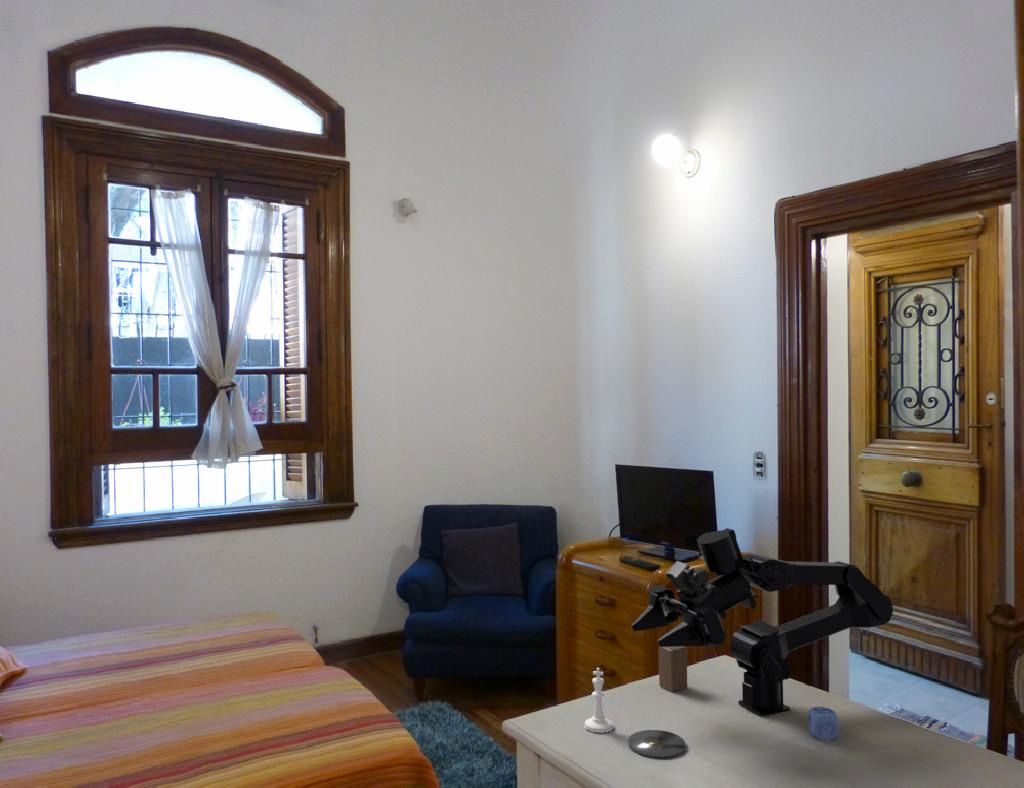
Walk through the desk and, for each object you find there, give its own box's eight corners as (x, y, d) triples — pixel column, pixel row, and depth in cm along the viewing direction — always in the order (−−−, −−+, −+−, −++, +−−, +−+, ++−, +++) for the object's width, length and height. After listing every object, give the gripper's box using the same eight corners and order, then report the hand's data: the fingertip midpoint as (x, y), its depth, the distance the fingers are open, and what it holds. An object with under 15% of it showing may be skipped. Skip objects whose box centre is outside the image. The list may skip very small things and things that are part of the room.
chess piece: (612, 734, 127) (611, 674, 127) (582, 732, 128) (581, 672, 128) (614, 722, 132) (613, 664, 132) (585, 720, 132) (585, 662, 133)
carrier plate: (664, 729, 128) (664, 726, 128) (697, 751, 120) (696, 748, 120) (618, 739, 125) (617, 735, 125) (648, 762, 116) (648, 758, 116)
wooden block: (672, 693, 145) (671, 650, 145) (658, 686, 148) (657, 645, 148) (688, 688, 147) (687, 647, 147) (674, 682, 150) (673, 641, 150)
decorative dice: (808, 729, 128) (807, 705, 128) (833, 731, 127) (832, 707, 127) (812, 740, 124) (812, 715, 124) (839, 741, 123) (838, 716, 123)
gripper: (675, 545, 143) (605, 581, 138) (735, 564, 125) (656, 606, 120) (695, 599, 144) (625, 636, 139) (756, 625, 126) (679, 670, 121)
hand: (644, 636), depth 130 cm, fingers open, 9 cm apart
